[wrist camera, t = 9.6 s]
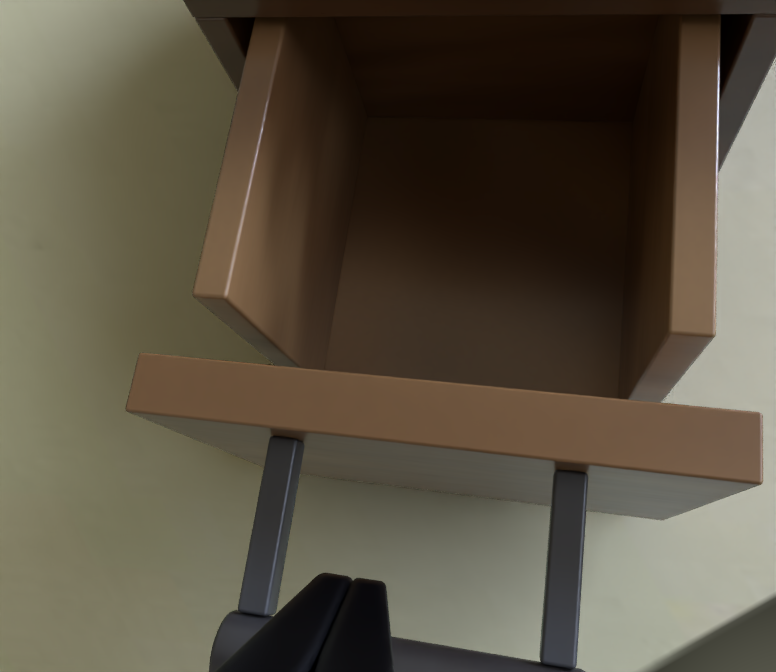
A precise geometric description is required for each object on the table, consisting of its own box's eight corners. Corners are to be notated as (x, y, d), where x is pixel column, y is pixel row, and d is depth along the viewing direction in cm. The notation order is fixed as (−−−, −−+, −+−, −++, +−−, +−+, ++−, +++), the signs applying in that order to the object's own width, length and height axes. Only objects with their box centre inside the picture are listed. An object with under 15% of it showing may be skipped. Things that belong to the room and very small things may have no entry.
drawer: (658, 708, 19) (765, 817, 10) (240, 634, 21) (58, 675, 13) (677, 122, 24) (761, -120, 15) (336, 115, 26) (248, -99, 18)
